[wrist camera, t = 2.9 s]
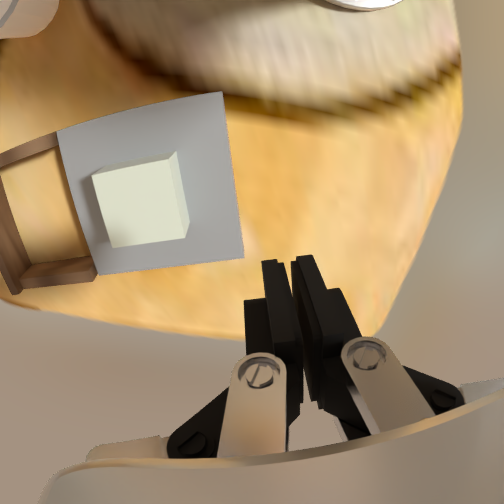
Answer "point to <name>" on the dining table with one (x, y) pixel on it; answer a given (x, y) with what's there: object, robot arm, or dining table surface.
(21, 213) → the dining table surface
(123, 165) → the off-white flat block
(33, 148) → the box
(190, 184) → the plate
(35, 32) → the white cup
